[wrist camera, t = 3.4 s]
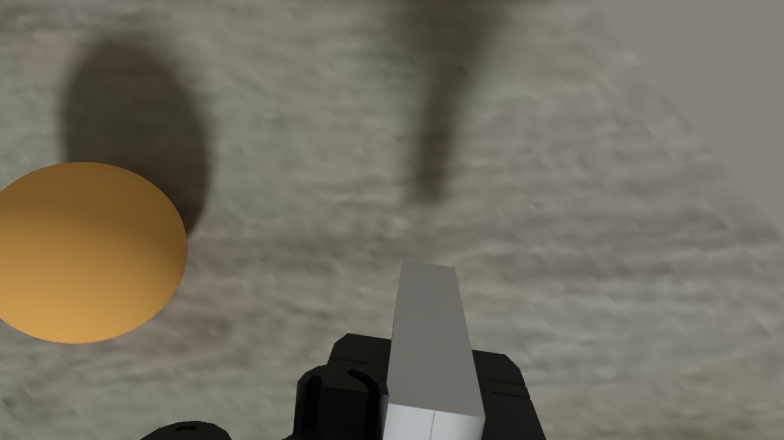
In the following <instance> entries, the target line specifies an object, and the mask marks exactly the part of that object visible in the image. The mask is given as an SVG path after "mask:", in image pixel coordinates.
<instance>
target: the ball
mask: <svg viewBox="0 0 784 440" xmlns="http://www.w3.org/2000/svg"><path fill="white" fill-rule="evenodd" d="M186 262H187V237H186V231H185V228H184V225H183V222H182V219H181V217H180V215H179V213H178V211H177V210H176V208H175V206H174V205H173V203H172V202H171V201H170V200H169V198H168V197H167V196H166V195H165V194H164V193H163V192H162V191H161V190H160V189H159V188H157V187H156V186H155V185H154V184H152V183H151V182H150V181H148V180H146V179H145V178H143V177H142V176H140V175H138V174H136V173H134V172H132V171H129V170H126V169H123V168H120V167H117V166H114V165H109V164H104V163H96V162H72V163H62V164H57V165H52V166H49V167H45V168H42V169H39V170H36V171H34V172H31V173H29V174H27V175H25V176H23V177H21V178H20V179H18V180H16V181H14V182H13V183H12V184H10V185H9V186H8V187H6V188H5V189H4V190H3V191H1V192H0V318H1V319H2V320H4V321H5V322H6V323H8V324H9V325H11V326H12V327H14V328H16V329H18V330H19V331H22V332H24V333H26V334H29V335H31V336H34V337H37V338H40V339H43V340H48V341H53V342H60V343H91V342H96V341H102V340H106V339H110V338H113V337H116V336H120V335H122V334H124V333H126V332H129V331H131V330H133V329H135V328H137V327H139V326H140V325H142V324H143V323H145V322H146V321H148V320H149V319H151V318H152V317H153V316H154V315H155V314H156V313H158V312H159V311H160V310H161V309H162V308H163V307H164V306H165V305H166V303H167V302H168V301H169V300H170V298H171V297H172V296H173V294H174V293H175V291H176V289H177V287H178V286H179V284H180V281H181V279H182V276H183V274H184V271H185V266H186Z"/></svg>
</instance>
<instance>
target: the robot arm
mask: <svg viewBox="0 0 784 440" xmlns="http://www.w3.org/2000/svg"><path fill="white" fill-rule="evenodd" d="M140 440H232V439H231V438H230V436H229V434H228V433H227V431H225V430H223V429H222V428H220V427H218V426H217V425H215V424H212V423H206V422H201V421H188V422H177V423H174V424H171V425H168V426H165V427H162V428H158V429H157V430H155V431H153V432H152V433H150V434H148V435H147V436H145V437H144V438H142V439H140ZM282 440H546V438H545V435H544V433H543V430H542V427H541V425H540V422H539V419H538V417H537V414H536V411H535V409H534V406H533V403H532V401H531V400H530V395H529V393H528V390H527V387H525V382H524V379H523V377H522V374H521V371H520V369H519V368H518V367H517V366H516V365H515V364H514V363H513V362H512V361H511V360H510V359H509V358H508V357H507V356H506V355H505V354H498V353H491V352H484V351H478V350H471V345H470V340H469V335H468V330H467V325H466V321H465V316H464V311H463V306H462V301H461V296H460V291H459V287H458V282H457V277H456V272H455V267H449V266H442V265H435V264H428V263H421V262H414V261H407V260H402V265H401V273H400V280H399V287H398V294H397V301H396V308H395V315H394V323H393V330H392V337H391V339H384V338H377V337H370V336H363V335H357V334H350V333H348V334H346V335H345V336H344V337H342V338H341V339H340V340H338V341H337V342H336V343H334V346H333V349H332V352H331V354H330V357H329V360H328V362H327V365H322V366H318V367H316V368H314V369H312V370H310V371H308V372H306V373H305V374H304V375H303V376H302V377H301V379H300V380H299V381H298V382H297V394H296V405H295V416H294V428H293V433H292V435H290V436H288V437H287V438H285V439H282Z"/></svg>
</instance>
